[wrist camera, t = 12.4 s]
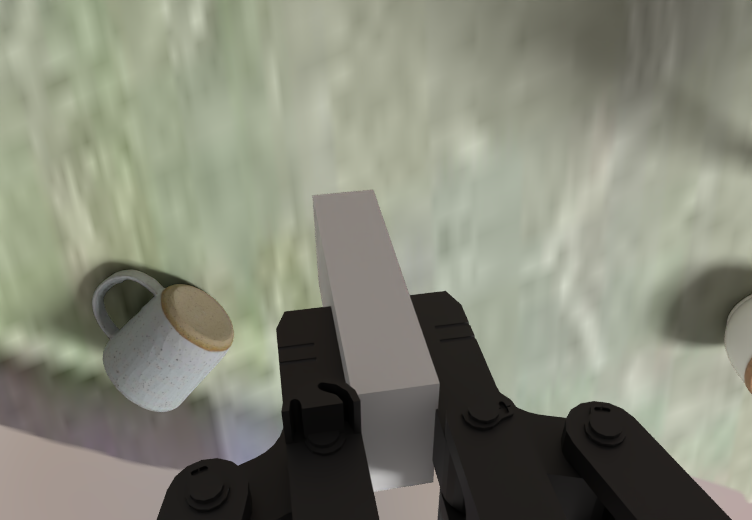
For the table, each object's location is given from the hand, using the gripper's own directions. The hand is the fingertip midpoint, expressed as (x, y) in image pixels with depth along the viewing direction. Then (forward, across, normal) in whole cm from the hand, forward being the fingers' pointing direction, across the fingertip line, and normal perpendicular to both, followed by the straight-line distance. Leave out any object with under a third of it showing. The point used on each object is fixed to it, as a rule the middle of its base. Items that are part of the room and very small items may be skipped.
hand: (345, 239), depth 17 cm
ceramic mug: (+33, -12, -28) cm, 45 cm away
